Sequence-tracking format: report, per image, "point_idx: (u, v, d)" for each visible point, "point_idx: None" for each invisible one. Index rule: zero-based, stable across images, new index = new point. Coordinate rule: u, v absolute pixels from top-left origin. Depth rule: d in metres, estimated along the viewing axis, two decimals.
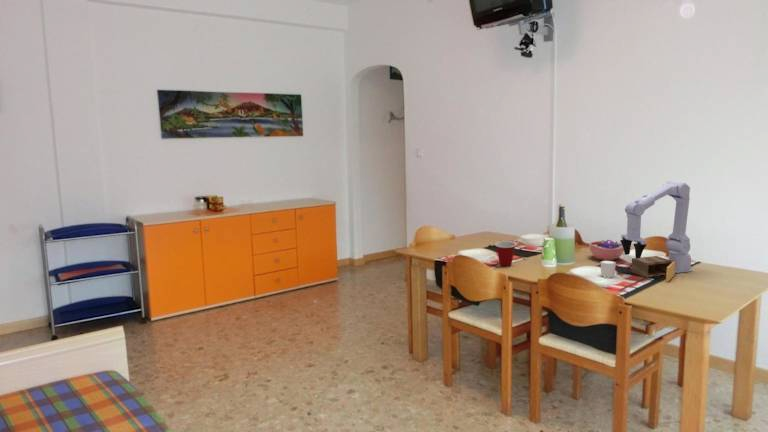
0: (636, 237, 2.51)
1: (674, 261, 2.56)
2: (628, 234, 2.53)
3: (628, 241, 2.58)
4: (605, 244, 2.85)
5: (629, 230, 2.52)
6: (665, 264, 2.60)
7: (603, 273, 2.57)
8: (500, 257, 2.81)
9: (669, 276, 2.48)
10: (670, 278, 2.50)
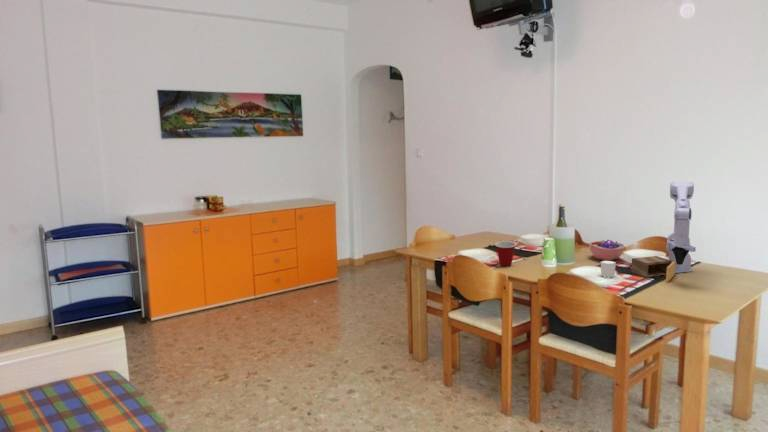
0: (684, 244, 2.37)
1: (674, 261, 2.56)
2: (675, 241, 2.39)
3: None
4: (605, 244, 2.85)
5: (677, 237, 2.38)
6: (665, 264, 2.60)
7: (603, 273, 2.57)
8: (500, 257, 2.81)
9: (669, 276, 2.48)
10: (670, 278, 2.50)
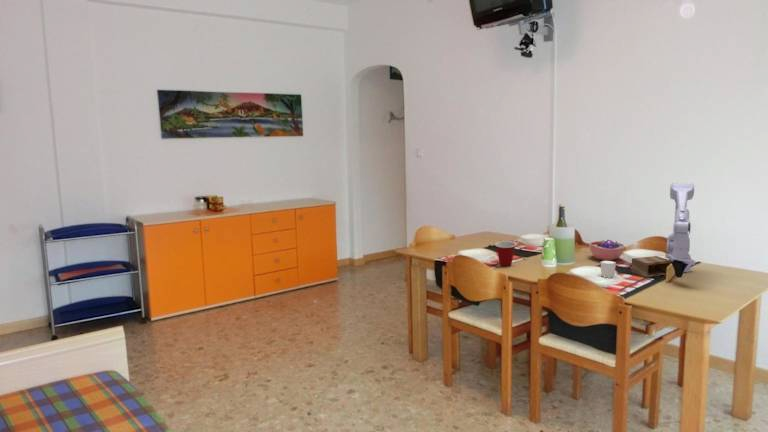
0: (683, 257, 2.38)
1: None
2: (675, 254, 2.40)
3: None
4: (605, 244, 2.85)
5: (676, 250, 2.39)
6: (665, 264, 2.60)
7: (603, 273, 2.57)
8: (500, 257, 2.81)
9: (669, 276, 2.48)
10: (670, 278, 2.50)
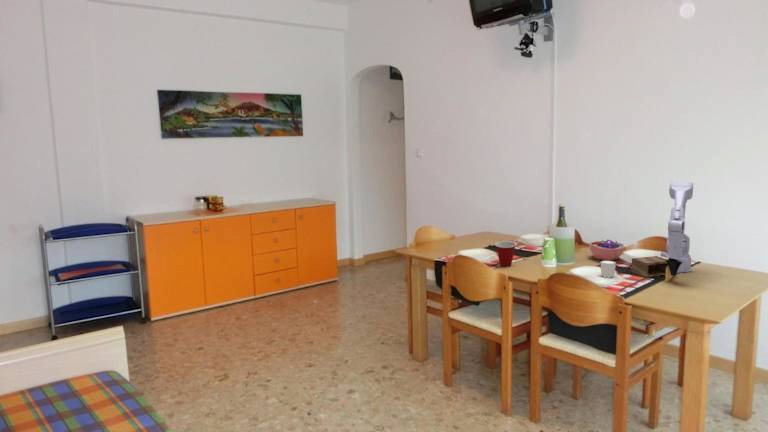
0: (678, 256, 2.41)
1: None
2: (669, 252, 2.43)
3: None
4: (605, 244, 2.85)
5: (670, 248, 2.42)
6: (665, 264, 2.60)
7: (603, 273, 2.57)
8: (500, 257, 2.81)
9: (669, 276, 2.48)
10: (670, 278, 2.50)
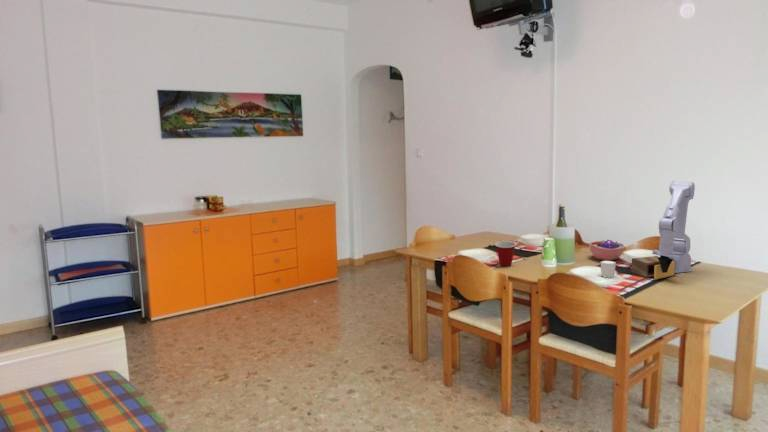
0: (669, 253, 2.46)
1: (673, 261, 2.56)
2: (661, 250, 2.48)
3: None
4: (605, 244, 2.85)
5: (662, 246, 2.47)
6: None
7: (603, 273, 2.57)
8: (500, 257, 2.81)
9: (659, 274, 2.51)
10: (662, 277, 2.52)
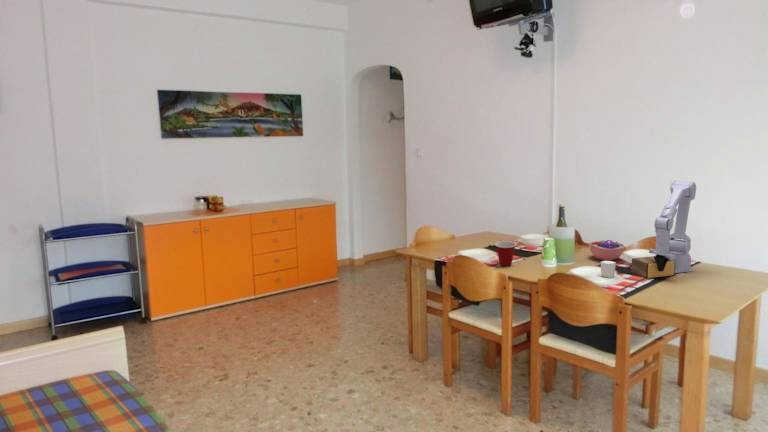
0: (665, 252, 2.48)
1: (673, 261, 2.56)
2: (657, 249, 2.50)
3: None
4: (605, 244, 2.85)
5: (658, 245, 2.49)
6: None
7: (603, 273, 2.57)
8: (500, 257, 2.81)
9: (654, 273, 2.54)
10: (658, 276, 2.54)
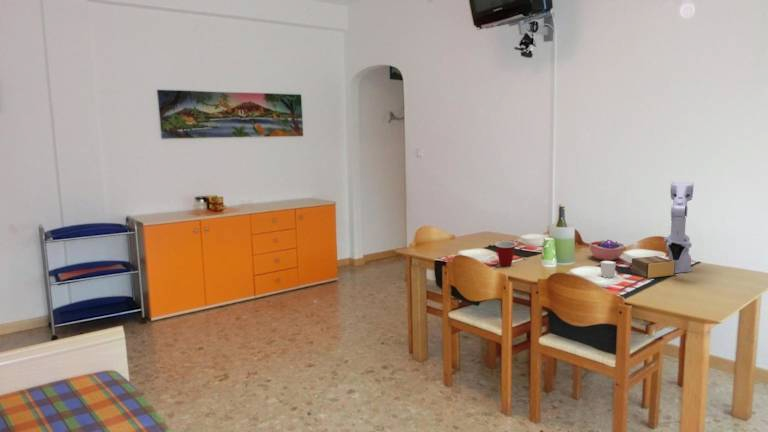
0: (681, 240, 2.45)
1: (673, 261, 2.56)
2: (672, 237, 2.47)
3: None
4: (605, 244, 2.85)
5: (673, 233, 2.46)
6: None
7: (603, 273, 2.57)
8: (500, 257, 2.81)
9: (654, 273, 2.54)
10: (658, 276, 2.54)
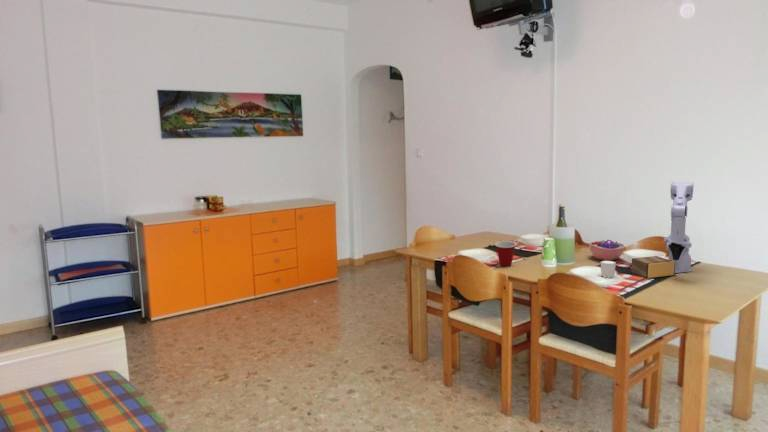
0: (681, 240, 2.45)
1: (673, 261, 2.56)
2: (672, 237, 2.47)
3: None
4: (605, 244, 2.85)
5: (673, 233, 2.46)
6: None
7: (603, 273, 2.57)
8: (500, 257, 2.81)
9: (654, 273, 2.54)
10: (658, 276, 2.54)
